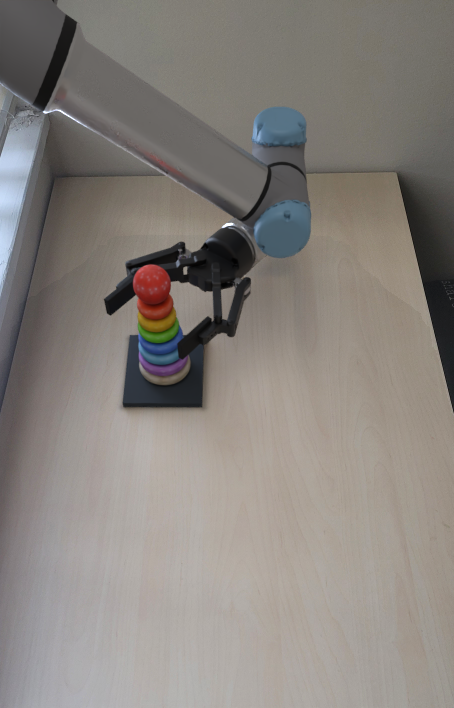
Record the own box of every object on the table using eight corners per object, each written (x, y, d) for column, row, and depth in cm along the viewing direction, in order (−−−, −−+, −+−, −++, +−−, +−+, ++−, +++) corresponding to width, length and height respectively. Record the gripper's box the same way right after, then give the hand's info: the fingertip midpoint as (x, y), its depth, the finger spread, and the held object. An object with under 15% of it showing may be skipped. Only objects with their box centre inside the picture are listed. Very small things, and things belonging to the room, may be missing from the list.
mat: (123, 407, 97) (122, 403, 96) (130, 339, 104) (129, 334, 103) (202, 407, 97) (201, 403, 96) (204, 339, 104) (203, 334, 103)
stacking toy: (186, 346, 102) (179, 246, 86) (194, 384, 98) (187, 287, 82) (137, 352, 101) (120, 253, 85) (143, 391, 97) (126, 295, 81)
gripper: (300, 304, 97) (212, 389, 89) (175, 236, 104) (83, 309, 96) (305, 263, 90) (211, 351, 82) (171, 194, 98) (73, 269, 90)
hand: (142, 329), depth 89 cm, fingers open, 13 cm apart
